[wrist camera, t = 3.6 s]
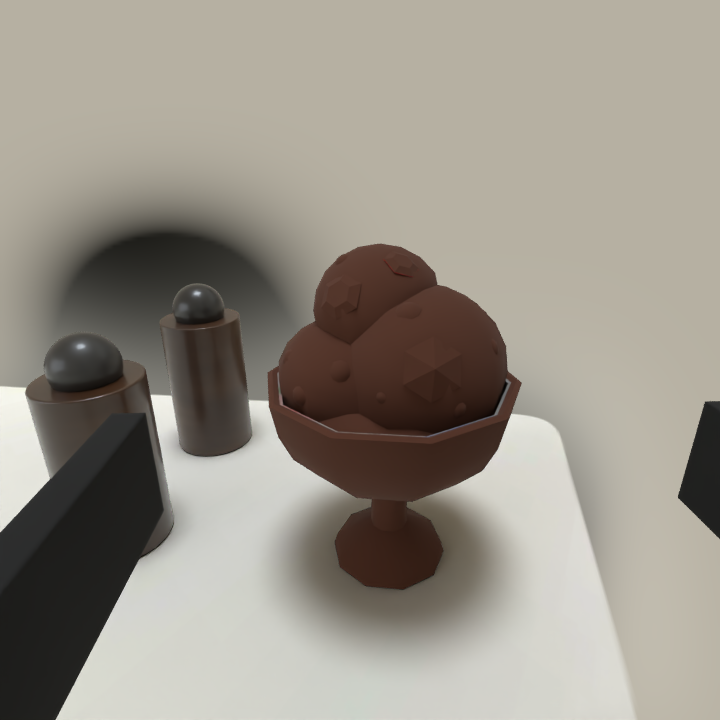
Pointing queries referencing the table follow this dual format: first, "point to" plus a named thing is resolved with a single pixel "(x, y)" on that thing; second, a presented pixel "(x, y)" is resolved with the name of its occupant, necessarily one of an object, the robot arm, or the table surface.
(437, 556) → the ice cream bowl
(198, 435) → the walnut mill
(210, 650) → the table surface
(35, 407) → the walnut mill middle
